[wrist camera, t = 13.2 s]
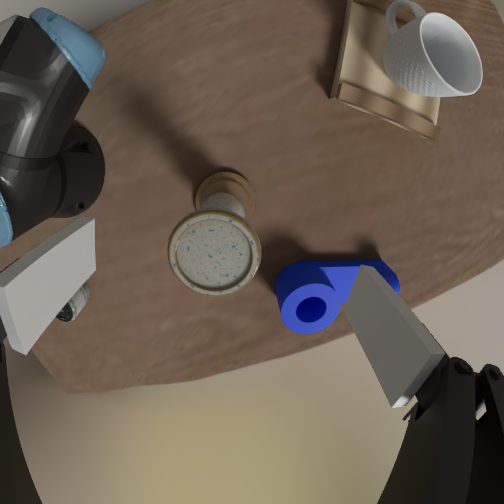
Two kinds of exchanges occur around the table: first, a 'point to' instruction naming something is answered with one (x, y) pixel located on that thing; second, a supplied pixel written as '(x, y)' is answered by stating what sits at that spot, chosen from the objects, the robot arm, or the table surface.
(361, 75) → the wooden tray
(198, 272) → the candle holder
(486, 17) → the table surface
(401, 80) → the mug
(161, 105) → the table surface
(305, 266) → the bracket
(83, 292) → the camera lens
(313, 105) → the table surface
